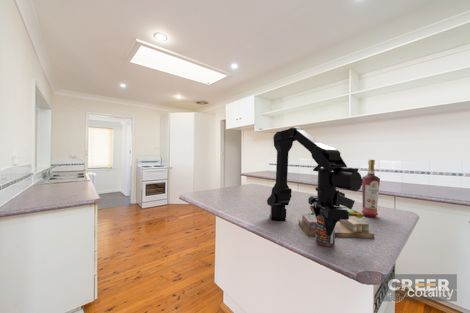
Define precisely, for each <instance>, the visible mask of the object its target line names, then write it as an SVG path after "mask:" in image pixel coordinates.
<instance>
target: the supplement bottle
mask: <svg viewBox="0 0 470 313" xmlns="http://www.w3.org/2000/svg"><path fill="white" fill-rule="evenodd" d="M321 214H324V213H323V209H320V215H318V216H317V219H316V236H315V242H316V243H317V244H318V245H320V246H323V247H329V248H330V247H334V246H335V243H336V236H335V228H334V230H333V232H332V235H331V236H328V235H327V232H326V229H325V226H324V222H323V219H322V216H321Z"/></svg>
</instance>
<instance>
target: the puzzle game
mask: <svg viewBox="0 0 470 313" xmlns="http://www.w3.org/2000/svg"><path fill="white" fill-rule="evenodd" d="M311 206H313V204H312V205H309V209H310V210H309V211H311V213H312V215H315V214H314V212H313V210H312V208H311ZM341 207H342V208H344V209H346V210H347V211H348V212H349V216H355V217H357V218H359V219H361V218H364V214H363V213H362V212H359V211H358V210H355V209H354V208H352V209H348V208H347V207H345V206H341Z"/></svg>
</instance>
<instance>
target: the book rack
mask: <svg viewBox="0 0 470 313" xmlns="http://www.w3.org/2000/svg"><path fill="white" fill-rule="evenodd" d="M298 225H299V226H300V227H301V229H302V230H303V232H304V233H305V234H306V236H311V237H313V236H314V237H316V217H315V215H314V214H302V219H301V220H300V219H299V220H298ZM369 225H370V224H369V223H368V222H366V221H364V220H362V219H361V218H357V217H355V216H349V220H342V219H340V220H339V221H338V222H337V223H336V225H335V238H336V237H338V238H341V237H343V238H361V239H363V238H364V239H374V238H375V233H374V232H372V231H370V228H369V227H370V226H369Z"/></svg>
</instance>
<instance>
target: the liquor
mask: <svg viewBox="0 0 470 313" xmlns="http://www.w3.org/2000/svg"><path fill="white" fill-rule="evenodd" d="M375 162H376V160H375V159H368V160H367V164H368V167H367V174H366V175H364V176H361V177H362V179H363V182H362V186H361V188H362V190H361V191H362V192H361V194H362V210H361V214H363V216H365V217H368V218H375V217H377V216H378V215H379V213H378V203H379V202H378V201H379V193H380V181H381V179H380V178H379V176H377V175H375Z"/></svg>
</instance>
